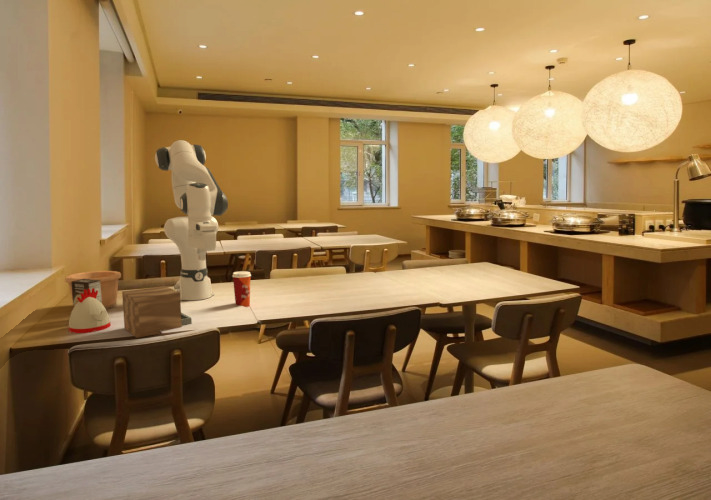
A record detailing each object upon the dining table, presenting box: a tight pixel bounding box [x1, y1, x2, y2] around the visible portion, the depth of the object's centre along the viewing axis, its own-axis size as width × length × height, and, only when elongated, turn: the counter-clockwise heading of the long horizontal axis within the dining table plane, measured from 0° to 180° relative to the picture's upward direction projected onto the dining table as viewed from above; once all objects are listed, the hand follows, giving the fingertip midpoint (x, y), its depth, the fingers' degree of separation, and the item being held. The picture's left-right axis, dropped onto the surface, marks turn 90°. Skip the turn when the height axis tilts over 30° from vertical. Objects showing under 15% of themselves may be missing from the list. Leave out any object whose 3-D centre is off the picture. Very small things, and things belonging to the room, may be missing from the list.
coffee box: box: [71, 279, 102, 308], centre depth 197 cm, size 9×6×16 cm
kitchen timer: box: [68, 288, 111, 334], centre depth 186 cm, size 14×14×15 cm
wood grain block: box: [121, 285, 183, 339], centre depth 184 cm, size 16×16×14 cm
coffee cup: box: [231, 270, 252, 308], centre depth 219 cm, size 8×8×15 cm
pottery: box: [64, 270, 122, 310], centre depth 219 cm, size 22×22×14 cm
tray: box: [181, 312, 192, 326], centre depth 188 cm, size 12×15×3 cm
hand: (201, 260), depth 194 cm, fingers closed
